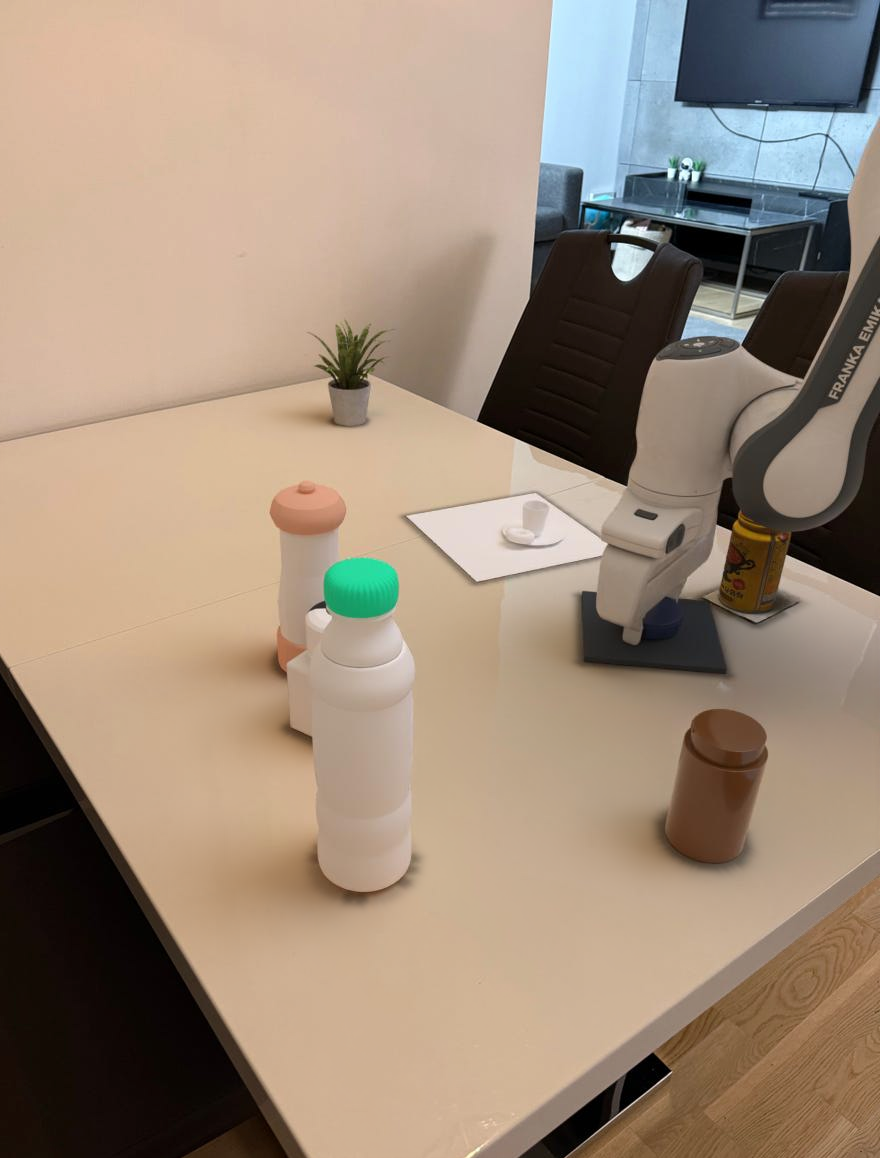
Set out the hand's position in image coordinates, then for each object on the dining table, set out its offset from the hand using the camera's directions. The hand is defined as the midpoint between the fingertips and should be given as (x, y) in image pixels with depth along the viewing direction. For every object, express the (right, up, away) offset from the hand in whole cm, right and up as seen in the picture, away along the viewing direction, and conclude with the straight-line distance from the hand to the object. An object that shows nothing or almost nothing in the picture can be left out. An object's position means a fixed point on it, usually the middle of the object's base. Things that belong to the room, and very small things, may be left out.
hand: (649, 626), depth 101 cm
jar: (-3, -17, -26) cm, 31 cm away
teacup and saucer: (-13, +12, +21) cm, 27 cm away
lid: (0, +2, -1) cm, 2 cm away
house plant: (-34, +35, +57) cm, 75 cm away
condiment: (+13, +3, +7) cm, 15 cm away
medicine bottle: (-32, -9, -14) cm, 36 cm away
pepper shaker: (-35, -4, -5) cm, 36 cm away
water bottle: (-29, -19, -29) cm, 45 cm away
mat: (0, -1, 0) cm, 1 cm away
